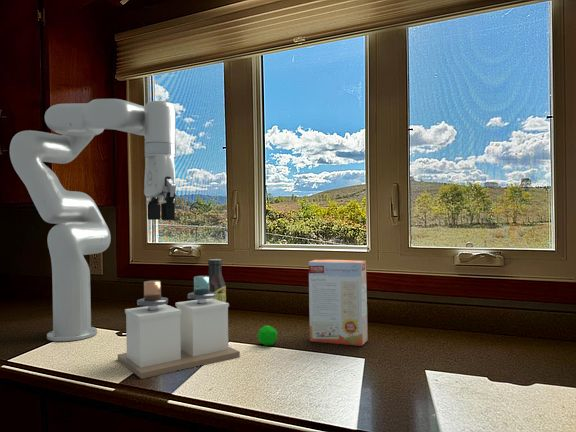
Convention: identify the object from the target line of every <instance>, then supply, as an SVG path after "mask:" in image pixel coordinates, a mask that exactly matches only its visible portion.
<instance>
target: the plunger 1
mask: <svg viewBox="0 0 576 432" xmlns="http://www.w3.org/2000/svg"><path fill="white" fill-rule="evenodd" d="M161 282H162V281H160V280H147V281H143V298H139V299H137V300H136V304H137V306H139V307H146V306H148V311H156V310H158V305H163V304H166V305H168V303H169V298H168V297H163V296H162V283H161Z"/></svg>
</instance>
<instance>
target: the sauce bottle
mask: <svg viewBox="0 0 576 432" xmlns="http://www.w3.org/2000/svg"><path fill="white" fill-rule="evenodd" d="M207 263H208V276H209V291H211V292H215V293H216V297H214V298H212V299H216V300H219V301H222V302H226V303H227V286H226V283H225V279H224V276H223V273H222V265H223V260H222V259H220V258H215V259H214V258H213V259H210V258H209V259H208V260H207Z"/></svg>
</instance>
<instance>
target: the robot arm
mask: <svg viewBox="0 0 576 432" xmlns="http://www.w3.org/2000/svg"><path fill="white" fill-rule="evenodd" d="M44 122H45V124H46V126H47V127H48V129H50V130H51V131H52V132H54V133H50V132H47V131H46V132H45V131H39V130H31V129H29V130H22V131H19V132H17V133H16V134H14V136H13V137H12V139H11V141H10V144H9V158H10V162H11V164H12V167H13V169H14V171H15V172H16V174H17V175H18V177H19V178H20V180H21V181H22V183H23V184H24V185H25V188H26V190H27V191H28V194H29V195H30V198H31V200H32V202H33V204H34V206H35V208H36V210H37V212H38V214H39V215H40V217H41V219H42V220H43V221H44V222H46V223H48V224H55V225H54V226H52V227H51V229H50V230H49V231H48V234H47V241H46V242H47V248H48V250H49V251H48V252H49V255H50V262H51V274H52V275H51V276H52V277H51V279H52V280H51V281H52V331H49V332H47V334H46V339H47V340H48V341H51V342H73V341H78V340H84V339H88V338H91V337H94V336H96V335H97V333H98V329H97V328H96V327H94V326H92V308H91V307H92V306H91V305H92V304H91V300H92V299H91V271H90V269H91V268H90V266H89V263H88V262H87V260H86V258H85V256H87V255H94V254H101V253H103V252H105V251H106V250H108V248H109V247H110V244H111V239H112V237H111V231H110V229H109V227H108V225H107V223H106V221H105V219H104V217H103V215H102V213H101V211H100V209H99V207H98V205H97V204H96V202H95V200H94V199H93V198H92V197H91V196H90V195H88V193H85V192H82V191H76V190H75V191H74V190H72V191H71V190H67V189H65V188H64V186H63V185H62V183H61V181H60V179H59V178H58V175H56V173H55V172H54V171H53V170H52V169H51V168H50V167H49V166H47V165H46V164H45V163H50V164H51V163H53V164H61V165H63V164H68V163H71V162H72V161H73V160H75V159H76V158H77V157H78V156H79V154H80V153H81V152H83V150H84V149H85V147H87V146H88V145H89V143H90V142H91V141H92V140H93V139H94V137H95V136H98V135H100V134H102V133H104V130H116V131H120V132H124V133H129V134H133V135H138V136H144V157H145V158H146V159H145V167H144V168H145V169H144V181H143V182H144V185H143V186H144V187H143V188H144V189H143V194H144V196H145V197H146V198H147V200H146V201H147V202H146V203H147V220H150V221H151V220H152V221H153V220H159V221H160V220H162V221H174V220H175V219H176V216H175V214H176V210H175V209H176V207H175V206H176V204H175V203H176V198H175V197H176V189H177V184H176V169H175V167H176V166H175V160H174V159H176V157H177V156H176V154H177V153H176V148H177V147H176V134H177V133H176V108H175V105H174V104H173V103H171V102H169V101H166V100H165V101H164V100H152V101H148V102H147V103H145V105H140V104H137V103H135V102H132V101H128V100H125V99H124V100H123V99H121V98H120V99H119V98H95V99H92V100H90V101H89V102H87V103H86V102H85V103H84V102H83V103H79V102H78V103H57V104H53V105H52V106H49V108H48V109H46V111H45V113H44ZM55 133H57V134H55ZM160 200H161V201H162V203H160Z"/></svg>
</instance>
